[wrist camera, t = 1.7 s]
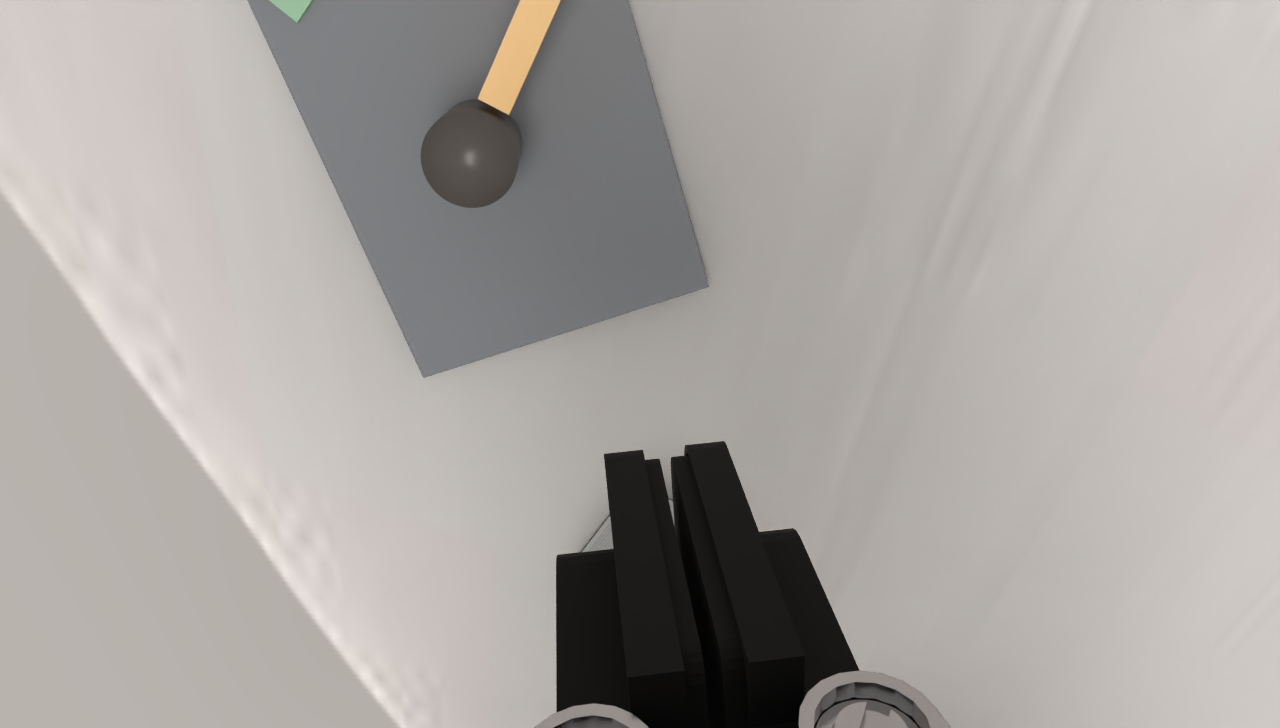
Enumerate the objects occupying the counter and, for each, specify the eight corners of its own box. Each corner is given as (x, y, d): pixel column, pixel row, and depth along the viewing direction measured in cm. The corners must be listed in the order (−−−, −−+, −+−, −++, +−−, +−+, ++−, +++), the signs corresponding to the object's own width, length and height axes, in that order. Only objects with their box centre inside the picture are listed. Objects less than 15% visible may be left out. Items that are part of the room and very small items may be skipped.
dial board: (706, 281, 37) (711, 290, 36) (426, 370, 38) (421, 382, 36) (561, -227, 29) (561, -238, 28) (206, -104, 29) (191, -109, 28)
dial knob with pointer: (501, 201, 33) (493, 223, 30) (422, 163, 32) (406, 181, 29) (602, -18, 30) (607, -20, 27) (518, -66, 30) (513, -76, 26)
